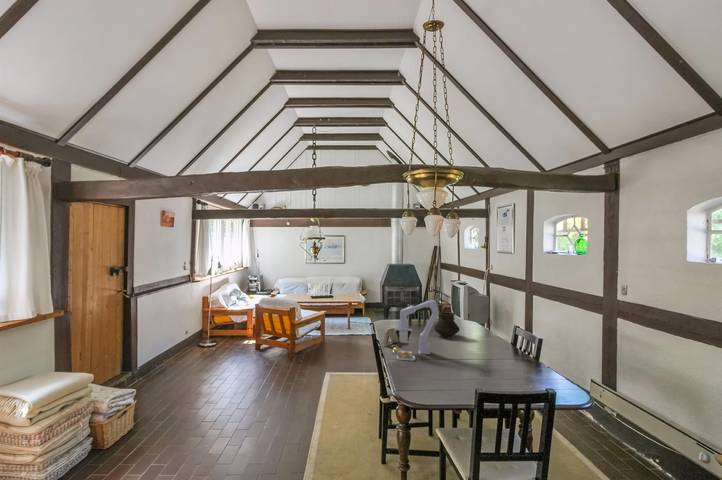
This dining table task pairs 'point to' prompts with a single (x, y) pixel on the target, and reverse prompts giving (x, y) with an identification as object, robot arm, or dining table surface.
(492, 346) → the dining table surface
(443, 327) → the ceramic pot
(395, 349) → the ring nut
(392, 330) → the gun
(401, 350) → the nut plinth
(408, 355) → the maple spanner
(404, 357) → the peg rack
